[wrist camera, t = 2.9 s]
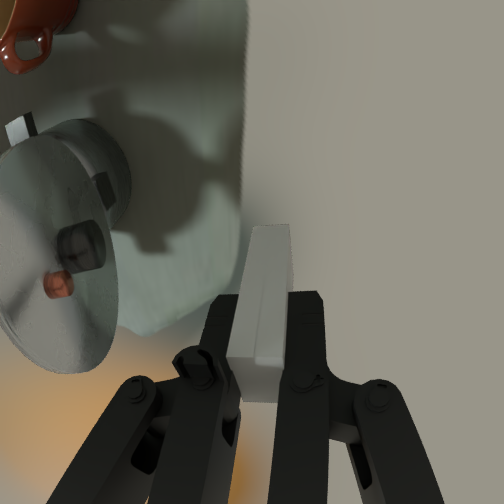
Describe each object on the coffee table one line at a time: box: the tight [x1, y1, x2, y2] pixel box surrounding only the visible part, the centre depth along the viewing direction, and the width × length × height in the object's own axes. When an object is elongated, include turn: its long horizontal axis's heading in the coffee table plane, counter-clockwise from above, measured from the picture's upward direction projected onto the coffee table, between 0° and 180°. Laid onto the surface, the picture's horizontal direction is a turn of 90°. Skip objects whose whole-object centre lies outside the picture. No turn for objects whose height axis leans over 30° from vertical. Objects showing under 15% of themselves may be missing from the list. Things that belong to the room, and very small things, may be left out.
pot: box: [5, 112, 131, 230], centre depth 28 cm, size 15×19×8 cm
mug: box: [0, 0, 79, 74], centre depth 16 cm, size 12×9×10 cm
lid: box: [0, 135, 118, 374], centre depth 17 cm, size 15×15×3 cm
